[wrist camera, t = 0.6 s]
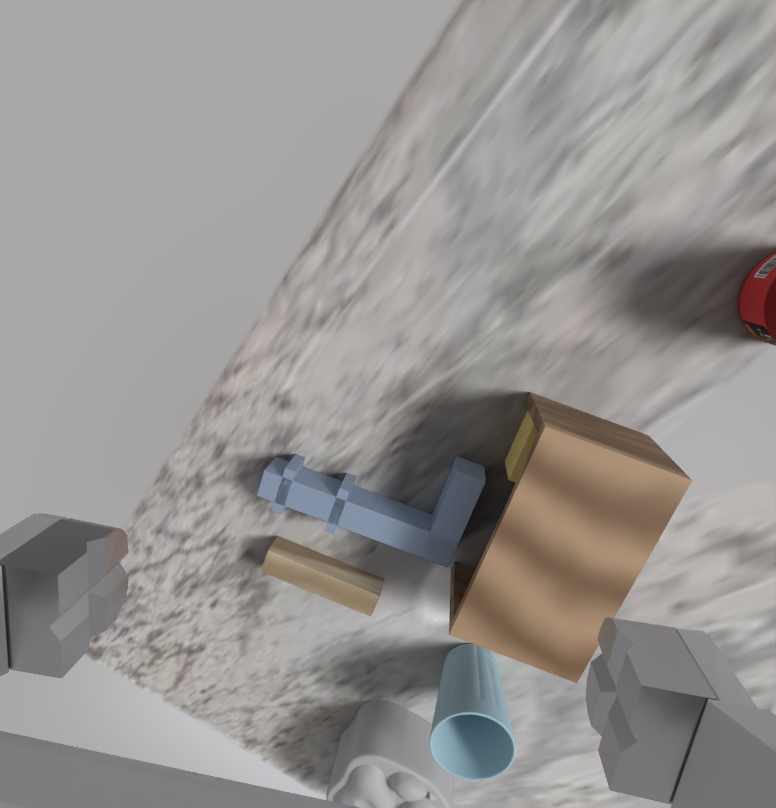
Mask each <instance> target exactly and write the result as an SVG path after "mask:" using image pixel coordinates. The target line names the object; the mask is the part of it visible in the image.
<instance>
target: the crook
mask: <svg viewBox="0 0 776 808" xmlns="http://www.w3.org/2000/svg"><path fill="white" fill-rule="evenodd" d="M304 460H305V457H303V456H300V455H297V454H295V456H294V457H293V458H292V460H291V461H287V460H285V459H282V458H279V457H277V456H276V457H275V459H274V460H273V461H272V462H271V463H270V464H269V466H268V467H267V468H266V469H265V470H264V473H263V477H262V480H261V483H260V487H259V490H258V493H257V496H259V497H262V498H265V499H267V500H270V501H273V502H274V505H273V508H272V511H273V512H276V513H278V514H282V513H283V511H284V510H285V508H286V507H289V508H291V509H294V510H297V511H299V512H302V513H304V514H307V515H310V516H312V517H315V518H318V519H320V520H323V521H326V522H327V525H326V527H325V530H324V531H326V532H329V533H331V534H335V531H336V529H337V527H338V526H339V527H342V528H344V529H347V530H350V531H352V532H355V533H358V534H360V535H363V536H366V537H368V538H371V539H374V540H376V541H379V542H382V543H384V544H387V545H390V546H392V547H395V548H398V549H400V550H403V551H406V552H408V553H411V554H414V555H416V556H419V557H422V558H424V559H427V560H430V561H432V562H435V563H438V564H440V565H443V566H446V567H448V566H449V564H450V561H451V559H452V557H453V555H454V552H455V550H456V548H457V546H458V543H459V541H460V539H461V537H462V534H463V532H464V530H465V527H466V525H467V523H468V521H469V518H470V516H471V514H472V512H473V509H474V507H475V505H476V502H477V500H478V498H479V496H480V493H481V491H482V489H483V487H484V484H485V482H486V479H485V470H484V466H482V465H479V464H477V463H474V462H471V461H469V460H466V459H463V458H460V457H458V456H456V459H455V461H454V464H453V466H452V468H451V471H450V473H449V476H448V478H447V480H446V483H445V485H444V488H443V490H442V492H441V495H440V497H439V500H438V502H437V504H436V507H435V509H434V512H433V514H429V513H426V512H424V511H421V510H418V509H416V508H413V507H410V506H408V505H405V504H402V503H400V502H397V501H394V500H392V499H389V498H386V497H384V496H381V495H378V494H376V493H373V492H370V491H368V490H365V489H362V488H360V487H357V486H354V485H353V484H354V481H355V478H356V476H354V475H351V474H348V473H347V474H346V476H345V478H344V480H343V481H341V480H338V479H335V478H333V477H330V476H327V475H325V474H322V473H319V472H317V471H314V470H311V469H309V468H306V467H303V463H304Z"/></svg>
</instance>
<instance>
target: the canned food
mask: <svg viewBox="0 0 776 808" xmlns="http://www.w3.org/2000/svg"><path fill="white" fill-rule="evenodd" d="M738 308H739V313H740V317H741V319H742V321H743V323H744V325H745V326H746V328H747V329H748V330H749V331H750V333H751V334H753V335H754V336H755V337H756V338H758V339H760V340H762V341H764V342H767V343H770V344H773V345H776V252H775V253H774V254H772V255H770V256H768V257H767V258H765V259H763V260H762V261H761V262H760V263H758V264H757V265H756V266H755V267H754V268H753V269H752V270H751V272H750V273H749V274H748V276H747V277H746V279H745V280H744V282H743V285H742V287H741V290H740V294H739V301H738Z"/></svg>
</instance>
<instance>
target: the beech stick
mask: <svg viewBox="0 0 776 808" xmlns="http://www.w3.org/2000/svg"><path fill="white" fill-rule="evenodd" d="M261 571H262V572H264V573H267V574H269V575H271V576H274V577H276V578H279V579H281V580H284V581H286V582H288V583H291V584H293V585H296V586H298V587H301V588H303V589H305V590H308V591H310V592H313V593H315V594H318V595H320V596H322V597H325V598H327V599H330V600H332V601H335V602H337V603H340V604H342V605H344V606H347V607H349V608H352V609H354V610H357V611H359V612H361V613H364V614H366V615H369V616H371V615H372V613H373V611H374V608H375V606H376V604H377V602H378V600H379V597H380V594H381V590H382V585H383V581H384V579H382V578H379V577H377V576H375V575H372V574H370V573H367V572H365V571H362V570H360V569H357V568H355V567H353V566H350V565H348V564H345V563H343V562H340V561H338V560H336V559H333V558H331V557H328V556H326V555H323V554H321V553H318V552H316V551H314V550H311V549H309V548H306V547H304V546H301V545H299V544H297V543H294V542H292V541H289V540H287V539H284V538H282V537H279V536H277V537H276V539H275V540H274V542H273V544H272V545H271V547H270V548H269V550H268V552H267V555H266V558H265V561H264V563H263V566H262V569H261Z"/></svg>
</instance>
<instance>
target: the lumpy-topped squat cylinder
mask: <svg viewBox="0 0 776 808" xmlns="http://www.w3.org/2000/svg"><path fill="white" fill-rule="evenodd" d="M431 728H432V724H431V723H430V722H428V721H427V720H425V719H424V718H422V717H420V716H418V715H417V714H415V713H413V712H411V711H409V710H407V709H405V708H402V707H400V706H398V705H396V704H393V703H390V702H387V701H380V700H376V701H370V702H367V703H365V704H363V705H362V706H361V707H360V709H359V711H358V713H357V715H356V718H355V720H354V721H353V723H352V724H351V725H350V726H349V727H348V728H347V729H346V730H345V731H344V732H343V733H342V735H341V737H340V741H339V745H338V749H337V753H336V757H335V761H334V766H333V769H332V774H331V778H330V782H329V786H328V790H327V796H326V797H327V801H331V802H336V803H341V804H346V805H350V806H355V807H360V808H453V775H451V774H449V773H447V772H446V771H444V770H443V769H442V768H441V767H440V766H439V765H438V764H437V763H436V762H435V760H434V759H433V757H432V755H431V752H430V747H429V738H430V733H431Z"/></svg>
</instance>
